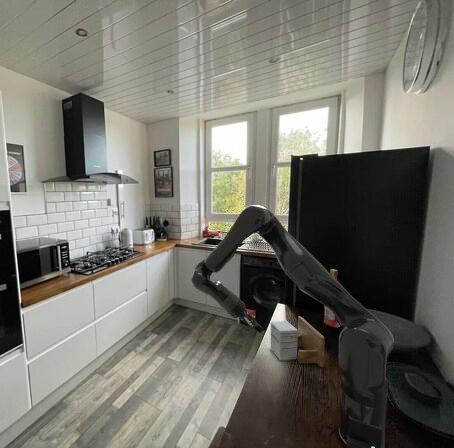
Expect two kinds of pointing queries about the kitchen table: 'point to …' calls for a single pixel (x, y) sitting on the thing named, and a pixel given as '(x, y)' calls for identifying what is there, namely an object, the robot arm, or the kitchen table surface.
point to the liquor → (329, 315)
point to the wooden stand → (310, 343)
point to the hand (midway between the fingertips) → (261, 330)
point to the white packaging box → (284, 340)
